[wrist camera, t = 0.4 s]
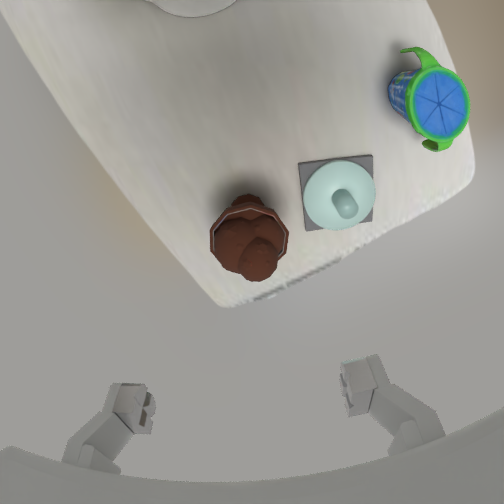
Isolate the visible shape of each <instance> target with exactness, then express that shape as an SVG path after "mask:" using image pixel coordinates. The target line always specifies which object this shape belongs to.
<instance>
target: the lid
mask: <svg viewBox="0 0 504 504" xmlns="http://www.w3.org/2000/svg"><path fill="white" fill-rule="evenodd" d="M375 195H376V191H375V184H374V182H373V179H372V177H371V176H370V175H369V173H368V172H367V171H366V170H365V169H364V168H363V167H362V166H360V165H359V164H357V163H355V162H352V161H348V160H335V161H331V162H328V163H325V164H323V165H322V166H320V167H319V168H317V169H316V170H315V171H314V172H313V173H312V174H311V175H310V177H309V178H308V180H307V182H306V184H305V187H304V191H303V202H304V206H305V209H306V212H307V214H308V216H309V217H310V218H311V220H312V221H313V222H314V223H316V224H317V225H319V226H320V227H323V228H325V229H329V230H343V229H347V228H350V227H353V226H355V225H356V224H358V223H360V222H361V221H362V220H363V219H364V218H365V217H366V216H367V215H368V214H369V212H370V211H371V209H372V207H373V204H374V201H375Z"/></svg>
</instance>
